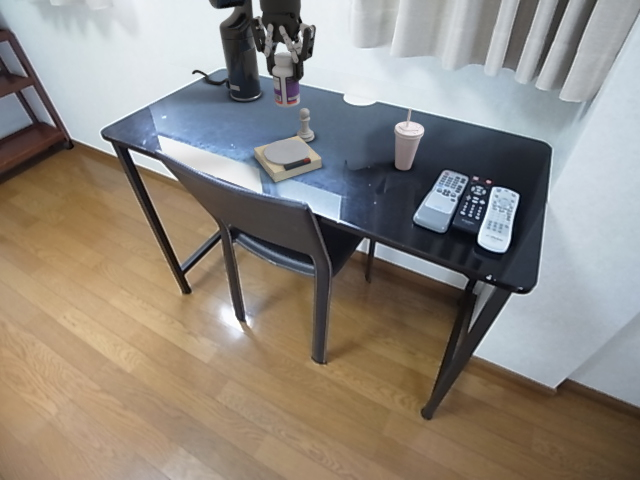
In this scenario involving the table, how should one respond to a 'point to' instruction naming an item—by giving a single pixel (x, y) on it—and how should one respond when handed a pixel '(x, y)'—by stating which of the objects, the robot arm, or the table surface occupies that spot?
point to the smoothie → (406, 142)
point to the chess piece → (305, 126)
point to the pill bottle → (285, 81)
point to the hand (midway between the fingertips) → (285, 77)
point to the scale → (287, 158)
